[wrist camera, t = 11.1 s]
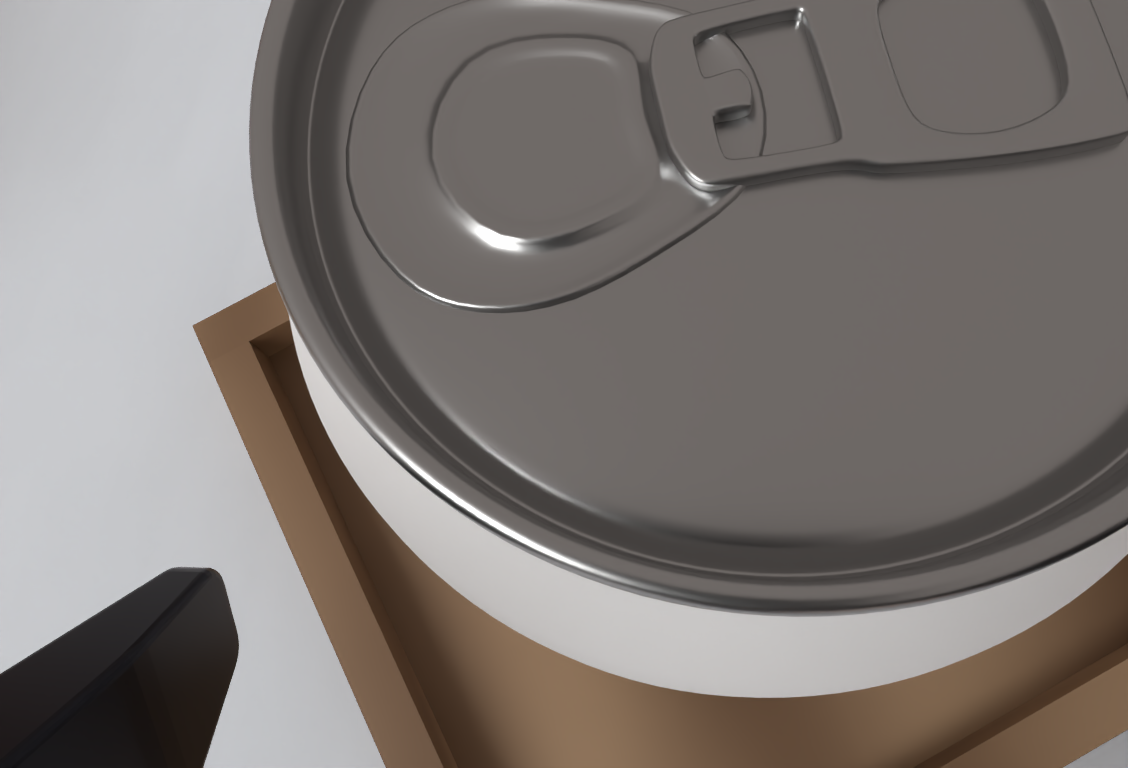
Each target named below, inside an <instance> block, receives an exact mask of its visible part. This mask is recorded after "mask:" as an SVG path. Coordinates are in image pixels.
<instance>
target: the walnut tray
mask: <svg viewBox="0 0 1128 768" xmlns="http://www.w3.org/2000/svg"><path fill="white" fill-rule="evenodd" d="M193 328H194V330H195V333H196V335H197V337H198V340H199V342H200V344H201V346H202V349H203V351H204V353H205V355H206V358H207V360H208V362H209V365H210V367H211V369H212V371H213V374H214V376H215V378H216V381H217V383H218V385H219V387H220V390H221V392H222V394H223V397H224V399H225V401H226V403H227V406H228V408H229V410H230V413H231V415H232V417H233V419H234V422H235V424H236V426H237V429H238V431H239V433H240V435H241V438H242V440H243V442H244V445H245V447H246V449H247V451H248V454H249V456H250V458H251V461H252V463H253V465H254V467H255V470H256V472H257V474H258V477H259V479H260V481H261V483H262V486H263V488H264V490H265V492H266V495H267V497H268V499H269V502H270V504H271V506H272V508H273V511H274V513H275V515H276V518H277V520H278V522H279V524H280V527H281V529H282V531H283V534H284V536H285V538H286V540H287V543H288V545H289V547H290V550H291V552H292V554H293V556H294V559H295V561H296V563H297V566H298V568H299V570H300V572H301V575H302V577H303V579H304V582H305V584H306V586H307V588H308V591H309V593H310V595H311V598H312V600H313V602H314V604H315V607H316V609H317V611H318V614H319V616H320V618H321V620H322V623H323V625H324V627H325V629H326V632H327V634H328V636H329V639H330V641H331V643H332V645H333V648H334V650H335V652H336V655H337V657H338V659H339V661H340V664H341V666H342V668H343V671H344V673H345V675H346V677H347V680H348V682H349V684H350V687H351V689H352V691H353V693H354V696H355V698H356V700H357V703H358V705H359V707H360V709H361V712H362V714H363V716H364V719H365V721H366V723H367V725H368V728H369V730H370V732H371V735H372V737H373V739H374V741H375V744H376V746H377V748H378V751H379V753H380V755H381V757H382V760H383V762H384V764H385V766H386V768H1063V767H1064V766H1066V765H1068V764H1069V763H1071V762H1073V761H1075V760H1076V759H1078V758H1080V757H1081V756H1083V755H1085V754H1087V753H1088V752H1090V751H1092V750H1093V749H1095V748H1097V747H1099V746H1100V745H1102V744H1104V743H1105V742H1107V741H1109V740H1111V739H1112V738H1114V737H1116V736H1117V735H1119V734H1121V733H1123V732H1124V731H1126V730H1128V554H1127V555H1126V556H1125V557H1124V558H1123V559H1122V560H1121V561H1120V562H1119V563H1117V564H1116V565H1115V566H1114V567H1113V568H1112V569H1111V570H1110V571H1109V572H1108V573H1106V574H1105V575H1104V576H1103V577H1102V578H1100V579H1099V580H1098V581H1097V582H1096V583H1095V584H1093V585H1092V586H1091V587H1090V588H1088V589H1087V590H1086V591H1084V592H1083V593H1082V594H1080V595H1079V596H1078V597H1076V598H1075V599H1074V600H1072V601H1071V602H1070V603H1068V604H1067V605H1065V606H1064V607H1062V608H1061V609H1059V610H1058V611H1056V612H1055V613H1053V614H1052V615H1050V616H1049V617H1047V618H1045V619H1044V620H1042V621H1040V622H1039V623H1037V624H1035V625H1034V626H1032V627H1030V628H1028V629H1027V630H1025V631H1023V632H1021V633H1019V634H1017V635H1015V636H1014V637H1012V638H1010V639H1008V640H1006V641H1004V642H1002V643H1000V644H998V645H995V646H993V647H991V648H989V649H987V650H984V651H982V652H980V653H978V654H975V655H973V656H971V657H968V658H966V659H963V660H961V661H958V662H955V663H953V664H950V665H948V666H945V667H943V668H940V669H937V670H934V671H931V672H928V673H925V674H922V675H919V676H916V677H912V678H908V679H905V680H901V681H897V682H893V683H890V684H885V685H881V686H876V687H871V688H867V689H861V690H855V691H849V692H843V693H836V694H826V695H817V696H805V697H787V698H753V697H731V696H719V695H708V694H699V693H693V692H686V691H679V690H674V689H669V688H664V687H659V686H654V685H650V684H646V683H642V682H638V681H634V680H630V679H627V678H624V677H621V676H617V675H614V674H611V673H608V672H605V671H602V670H599V669H597V668H594V667H591V666H588V665H586V664H583V663H581V662H579V661H576V660H574V659H572V658H569V657H567V656H564V655H562V654H560V653H558V652H555V651H553V650H551V649H549V648H547V647H545V646H543V645H541V644H539V643H537V642H535V641H533V640H531V639H529V638H528V637H526V636H524V635H522V634H520V633H518V632H517V631H515V630H513V629H511V628H510V627H508V626H506V625H505V624H503V623H502V622H500V621H498V620H497V619H495V618H493V617H492V616H490V615H489V614H488V613H486V612H485V611H483V610H482V609H480V608H479V607H477V606H476V605H474V604H473V603H472V602H470V601H469V600H468V599H466V598H465V597H464V596H463V595H461V594H460V593H459V592H457V591H456V590H455V589H453V588H452V587H451V586H450V585H449V584H448V583H446V582H445V581H444V580H443V579H442V578H440V577H439V576H438V575H437V574H436V573H435V572H434V571H433V570H431V569H430V568H429V567H428V566H427V565H426V564H425V563H424V562H423V561H422V560H421V559H420V558H419V557H418V556H417V555H416V554H415V553H414V552H413V551H412V550H411V549H410V548H409V547H408V546H407V545H406V544H405V543H404V542H403V541H402V539H401V538H400V537H399V536H398V535H397V534H396V533H395V532H394V530H393V529H392V528H391V527H390V526H389V525H388V523H387V522H386V521H385V520H384V519H383V518H382V516H381V515H380V514H379V513H378V512H377V510H376V509H375V508H374V506H373V505H372V504H371V502H370V501H369V500H368V499H367V497H366V496H365V495H364V493H363V492H362V490H361V489H360V487H359V486H358V485H357V483H356V482H355V480H354V479H353V477H352V476H351V474H350V473H349V471H348V469H347V468H346V466H345V465H344V463H343V461H342V460H341V458H340V456H339V455H338V453H337V451H336V449H335V447H334V445H333V444H332V442H331V440H330V438H329V436H328V434H327V432H326V430H325V428H324V426H323V424H322V422H321V419H320V417H319V415H318V413H317V410H316V408H315V405H314V403H313V401H312V398H311V396H310V393H309V390H308V387H307V384H306V382H305V379H304V376H303V373H302V369H301V366H300V362H299V359H298V356H297V352H296V347H295V343H294V339H293V335H292V330H291V324H290V319H289V313H288V311H287V309H286V306H285V304H284V302H283V299H282V297H281V295H280V292H279V290H278V287H277V284H276V282H275V283H273V284H271V285H269V286H267V287H265V288H263V289H261V290H259V291H257V292H256V293H254V294H252V295H250V296H248V297H246V298H244V299H242V300H240V301H238V302H237V303H235V304H233V305H231V306H229V307H227V308H225V309H223V310H221V311H220V312H218V313H216V314H214V315H212V316H210V317H208V318H206V319H204V320H202V321H201V322H199V323H197V324H195V325H193Z"/></svg>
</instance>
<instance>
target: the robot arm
mask: <svg viewBox="0 0 1128 768" xmlns="http://www.w3.org/2000/svg"><path fill="white" fill-rule="evenodd" d="M238 650H239V641H238V634H237V630H236V626H235V622H234V619H233V615H232V611H231V607H230V603H229V600H228V596H227V592H226V588H225V585H224V582H223V579H222V577H221V575H220V574H219V573H218V572H217V571H216V570H214V569H212V568H195V567H176V568H171V569H168V570H167V571H165V572H163V573H161V574H160V575H158V576H157V577H155V578H153V579H152V580H150V581H149V582H147V583H145V584H144V585H142V586H141V587H139V588H137V589H136V590H134V591H133V592H131V593H129V594H128V595H126V596H125V597H123V598H121V599H120V600H118V601H117V602H115V603H113V604H112V605H110V606H109V607H107V608H105V609H104V610H102V611H100V612H99V613H97V614H96V615H94V616H92V617H91V618H89V619H88V620H86V621H84V622H83V623H81V624H80V625H78V626H76V627H75V628H73V629H72V630H70V631H68V632H67V633H65V634H64V635H62V636H60V637H59V638H57V639H56V640H54V641H52V642H51V643H49V644H48V645H46V646H44V647H43V648H41V649H40V650H38V651H36V652H35V653H33V654H31V655H30V656H28V657H27V658H25V659H23V660H22V661H20V662H19V663H17V664H15V665H14V666H12V667H11V668H9V669H7V670H6V671H4V672H3V673H1V674H0V768H203V766H204V763H205V760H206V757H207V754H208V751H209V748H210V744H211V741H212V738H213V735H214V732H215V729H216V726H217V723H218V719H219V716H220V713H221V710H222V707H223V704H224V701H225V697H226V694H227V691H228V688H229V685H230V682H231V679H232V676H233V672H234V669H235V666H236V662H237V658H238Z"/></svg>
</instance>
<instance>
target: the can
mask: <svg viewBox="0 0 1128 768" xmlns="http://www.w3.org/2000/svg"><path fill="white" fill-rule="evenodd" d="M249 154H250V168H251V179H252V188H253V196H254V202H255V207H256V213H257V218H258V223H259V227H260V232H261V236H262V240H263V244H264V247H265V251H266V254H267V257H268V261H269V264H270V267H271V270H272V273H273V276H274V279H275V281H276V284H277V287H278V290H279V292H280V295H281V297H282V299H283V302H284V304H285V306H286V309H287V311H288V313H289V319H290V324H291V330H292V335H293V339H294V343H295V347H296V352H297V356H298V359H299V362H300V366H301V369H302V373H303V376H304V379H305V382H306V384H307V387H308V390H309V393H310V396H311V398H312V401H313V403H314V405H315V408H316V410H317V413H318V415H319V417H320V419H321V422H322V424H323V426H324V428H325V430H326V432H327V434H328V436H329V438H330V440H331V442H332V444H333V445H334V447H335V449H336V451H337V453H338V455H339V456H340V458H341V460H342V461H343V463H344V465H345V466H346V468H347V469H348V471H349V473H350V474H351V476H352V477H353V479H354V480H355V482H356V483H357V485H358V486H359V487H360V489H361V490H362V492H363V493H364V495H365V496H366V497H367V499H368V500H369V501H370V502H371V504H372V505H373V506H374V508H375V509H376V510H377V512H378V513H379V514H380V515H381V516H382V518H383V519H384V520H385V521H386V522H387V523H388V525H389V526H390V527H391V528H392V529H393V530H394V532H395V533H396V534H397V535H398V536H399V537H400V538H401V539H402V541H403V542H404V543H405V544H406V545H407V546H408V547H409V548H410V549H411V550H412V551H413V552H414V553H415V554H416V555H417V556H418V557H419V558H420V559H421V560H422V561H423V562H424V563H425V564H426V565H427V566H428V567H429V568H430V569H431V570H433V571H434V572H435V573H436V574H437V575H438V576H439V577H440V578H442V579H443V580H444V581H445V582H446V583H448V584H449V585H450V586H451V587H452V588H453V589H455V590H456V591H457V592H459V593H460V594H461V595H463V596H464V597H465V598H466V599H468V600H469V601H470V602H472V603H473V604H474V605H476V606H477V607H479V608H480V609H482V610H483V611H485V612H486V613H488V614H489V615H490V616H492V617H493V618H495V619H497V620H498V621H500V622H502V623H503V624H505V625H506V626H508V627H510V628H511V629H513V630H515V631H517V632H518V633H520V634H522V635H524V636H526V637H528V638H529V639H531V640H533V641H535V642H537V643H539V644H541V645H543V646H545V647H547V648H549V649H551V650H553V651H555V652H558V653H560V654H562V655H564V656H567V657H569V658H572V659H574V660H576V661H579V662H581V663H583V664H586V665H588V666H591V667H594V668H597V669H599V670H602V671H605V672H608V673H611V674H614V675H617V676H621V677H624V678H627V679H630V680H634V681H638V682H642V683H646V684H650V685H654V686H659V687H664V688H669V689H674V690H679V691H686V692H693V693H699V694H708V695H719V696H731V697H753V698H787V697H805V696H817V695H826V694H836V693H843V692H849V691H855V690H861V689H867V688H871V687H876V686H881V685H885V684H890V683H893V682H897V681H901V680H905V679H908V678H912V677H916V676H919V675H922V674H925V673H928V672H931V671H934V670H937V669H940V668H943V667H945V666H948V665H950V664H953V663H955V662H958V661H961V660H963V659H966V658H968V657H971V656H973V655H975V654H978V653H980V652H982V651H984V650H987V649H989V648H991V647H993V646H995V645H998V644H1000V643H1002V642H1004V641H1006V640H1008V639H1010V638H1012V637H1014V636H1015V635H1017V634H1019V633H1021V632H1023V631H1025V630H1027V629H1028V628H1030V627H1032V626H1034V625H1035V624H1037V623H1039V622H1040V621H1042V620H1044V619H1045V618H1047V617H1049V616H1050V615H1052V614H1053V613H1055V612H1056V611H1058V610H1059V609H1061V608H1062V607H1064V606H1065V605H1067V604H1068V603H1070V602H1071V601H1072V600H1074V599H1075V598H1076V597H1078V596H1079V595H1080V594H1082V593H1083V592H1084V591H1086V590H1087V589H1088V588H1090V587H1091V586H1092V585H1093V584H1095V583H1096V582H1097V581H1098V580H1099V579H1100V578H1102V577H1103V576H1104V575H1105V574H1106V573H1108V572H1109V571H1110V570H1111V569H1112V568H1113V567H1114V566H1115V565H1116V564H1117V563H1119V562H1120V561H1121V560H1122V559H1123V558H1124V557H1125V556H1126V555H1127V554H1128V0H271V4H270V7H269V10H268V13H267V16H266V20H265V23H264V27H263V31H262V35H261V39H260V43H259V48H258V53H257V58H256V63H255V70H254V76H253V83H252V92H251V103H250V121H249Z"/></svg>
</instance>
